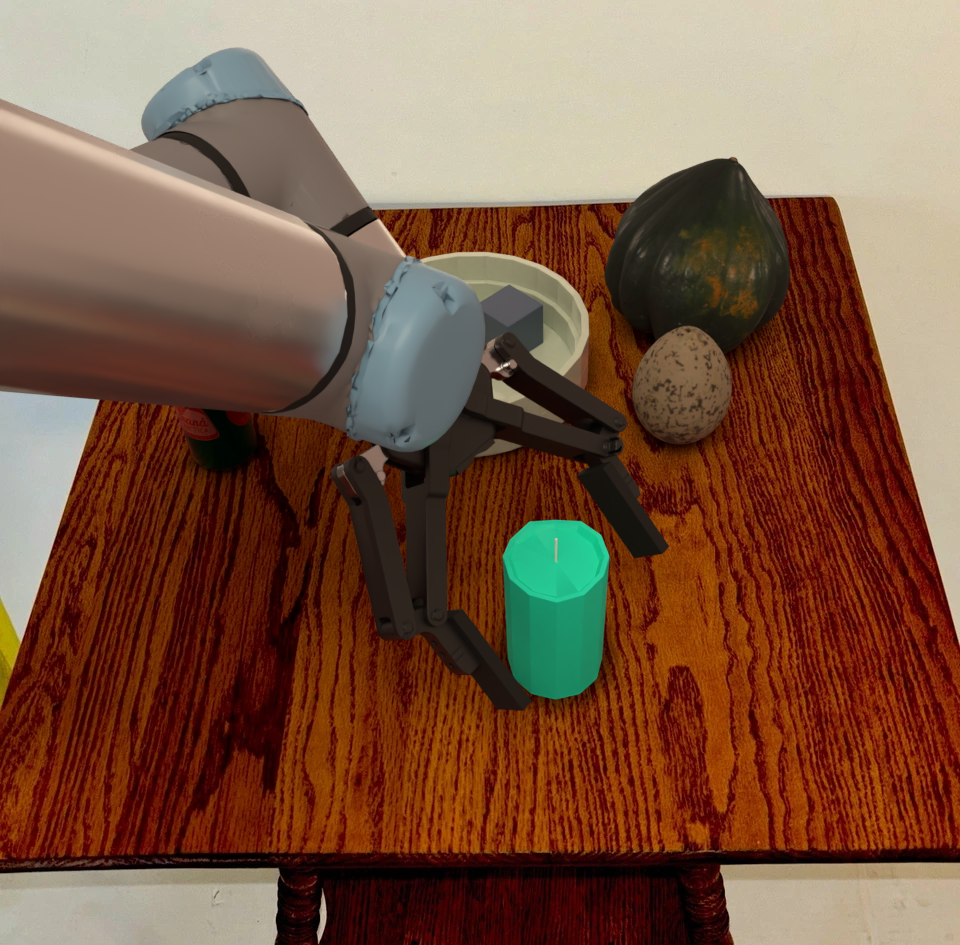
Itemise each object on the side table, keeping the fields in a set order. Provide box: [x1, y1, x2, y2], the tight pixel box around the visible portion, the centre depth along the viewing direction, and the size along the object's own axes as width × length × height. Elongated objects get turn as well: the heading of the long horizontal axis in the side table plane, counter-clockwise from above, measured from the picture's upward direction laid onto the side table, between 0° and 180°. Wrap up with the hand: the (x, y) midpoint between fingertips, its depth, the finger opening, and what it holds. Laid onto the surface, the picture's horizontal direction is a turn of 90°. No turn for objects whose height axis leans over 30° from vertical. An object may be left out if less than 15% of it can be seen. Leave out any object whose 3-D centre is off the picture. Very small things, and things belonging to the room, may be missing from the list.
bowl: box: [420, 251, 590, 458], centre depth 83 cm, size 19×19×6 cm
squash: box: [603, 156, 791, 355], centre depth 84 cm, size 14×15×15 cm
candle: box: [502, 519, 610, 701], centre depth 62 cm, size 6×6×12 cm
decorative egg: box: [631, 326, 733, 445], centre depth 76 cm, size 7×7×10 cm
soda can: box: [173, 406, 258, 472], centre depth 76 cm, size 5×5×12 cm
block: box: [480, 285, 543, 352], centre depth 85 cm, size 4×4×4 cm
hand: (587, 625), depth 61 cm, fingers open, 13 cm apart
